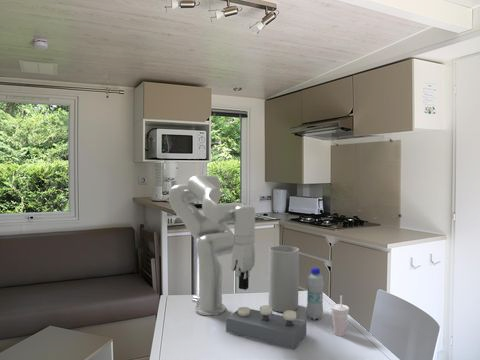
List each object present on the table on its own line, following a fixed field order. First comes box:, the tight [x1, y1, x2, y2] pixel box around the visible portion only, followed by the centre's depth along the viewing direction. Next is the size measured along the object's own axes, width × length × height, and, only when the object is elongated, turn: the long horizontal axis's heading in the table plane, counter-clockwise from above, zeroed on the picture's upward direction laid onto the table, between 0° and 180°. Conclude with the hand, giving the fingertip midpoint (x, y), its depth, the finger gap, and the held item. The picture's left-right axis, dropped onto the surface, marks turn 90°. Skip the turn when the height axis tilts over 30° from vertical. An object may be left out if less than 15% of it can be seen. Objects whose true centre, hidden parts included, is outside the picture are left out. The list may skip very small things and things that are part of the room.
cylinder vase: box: [268, 245, 300, 313], centre depth 157 cm, size 12×12×25 cm
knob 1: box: [237, 306, 251, 316], centre depth 137 cm, size 4×4×6 cm
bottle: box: [306, 267, 325, 321], centre depth 146 cm, size 7×7×20 cm
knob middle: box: [259, 304, 273, 321], centre depth 132 cm, size 4×4×6 cm
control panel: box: [225, 308, 307, 350], centre depth 132 cm, size 26×12×5 cm, turn 61°
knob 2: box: [282, 310, 297, 327], centre depth 128 cm, size 4×4×6 cm
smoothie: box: [330, 295, 350, 337], centre depth 133 cm, size 6×6×14 cm
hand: (243, 288), depth 137 cm, fingers closed
